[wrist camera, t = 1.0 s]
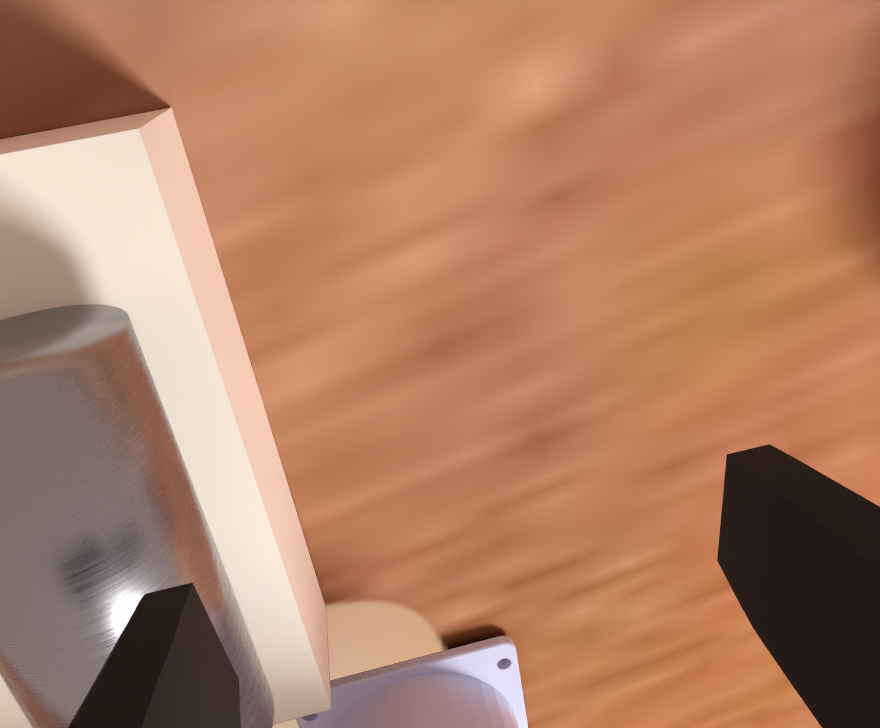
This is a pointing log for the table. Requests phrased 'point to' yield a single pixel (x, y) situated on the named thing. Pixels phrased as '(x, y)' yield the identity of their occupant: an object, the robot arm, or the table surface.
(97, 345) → the roller
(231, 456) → the slot board
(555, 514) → the table surface
